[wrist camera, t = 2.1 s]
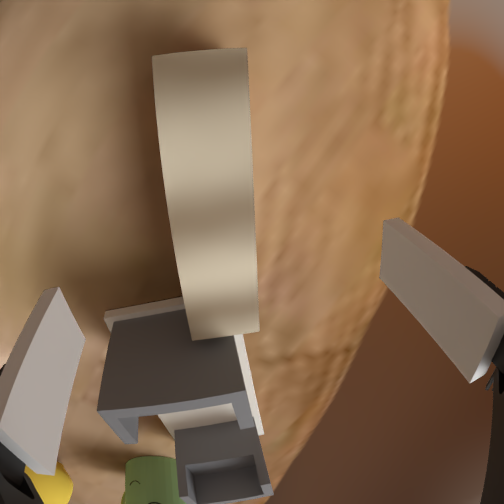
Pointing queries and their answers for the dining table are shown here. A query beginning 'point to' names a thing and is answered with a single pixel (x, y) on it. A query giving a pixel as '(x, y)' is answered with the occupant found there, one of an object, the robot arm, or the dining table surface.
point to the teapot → (52, 485)
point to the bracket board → (186, 400)
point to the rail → (209, 185)
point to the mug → (151, 481)
